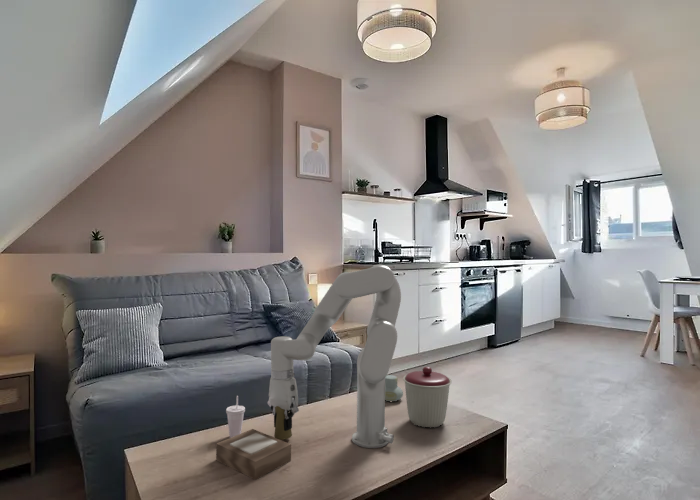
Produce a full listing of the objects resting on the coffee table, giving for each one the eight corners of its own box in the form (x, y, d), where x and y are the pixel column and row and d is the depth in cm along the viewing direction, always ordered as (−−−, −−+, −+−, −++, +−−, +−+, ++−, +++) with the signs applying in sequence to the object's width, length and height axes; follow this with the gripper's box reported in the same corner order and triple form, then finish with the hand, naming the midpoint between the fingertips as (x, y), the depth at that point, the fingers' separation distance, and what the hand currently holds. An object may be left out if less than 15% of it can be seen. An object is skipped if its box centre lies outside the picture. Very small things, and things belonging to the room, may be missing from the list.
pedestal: (290, 460, 128) (291, 442, 128) (255, 479, 117) (255, 460, 117) (252, 444, 139) (252, 427, 139) (216, 460, 128) (216, 442, 128)
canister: (393, 423, 158) (393, 367, 158) (418, 410, 172) (419, 358, 172) (436, 437, 146) (436, 376, 146) (459, 422, 160) (460, 366, 160)
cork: (284, 441, 138) (283, 407, 138) (270, 437, 141) (269, 404, 141) (295, 434, 143) (295, 402, 143) (282, 430, 146) (281, 399, 147)
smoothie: (239, 441, 140) (240, 399, 141) (221, 439, 142) (222, 398, 142) (247, 433, 147) (248, 393, 147) (231, 431, 148) (231, 392, 148)
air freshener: (403, 397, 186) (404, 375, 187) (401, 404, 178) (402, 380, 178) (379, 395, 189) (379, 373, 189) (376, 401, 181) (376, 378, 181)
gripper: (308, 375, 140) (308, 430, 140) (273, 367, 151) (274, 418, 150) (292, 380, 134) (292, 438, 134) (257, 372, 145) (258, 425, 144)
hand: (283, 427), depth 142 cm, fingers closed on cork, 4 cm apart
